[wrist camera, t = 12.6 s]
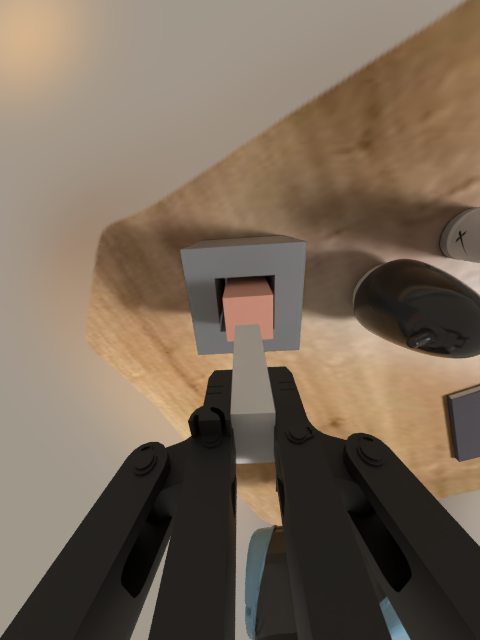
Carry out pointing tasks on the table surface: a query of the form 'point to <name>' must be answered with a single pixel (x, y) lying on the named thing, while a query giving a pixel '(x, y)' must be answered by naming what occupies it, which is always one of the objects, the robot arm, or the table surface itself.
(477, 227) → the travel mug
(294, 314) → the socket block
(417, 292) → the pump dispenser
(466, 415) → the notebook
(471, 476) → the table surface
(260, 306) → the peg
